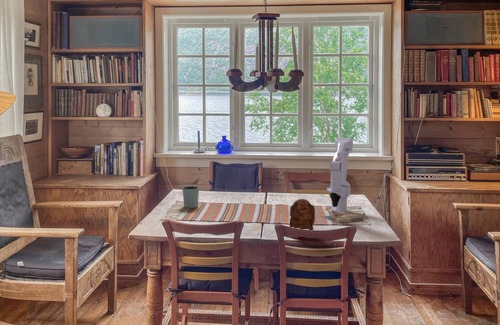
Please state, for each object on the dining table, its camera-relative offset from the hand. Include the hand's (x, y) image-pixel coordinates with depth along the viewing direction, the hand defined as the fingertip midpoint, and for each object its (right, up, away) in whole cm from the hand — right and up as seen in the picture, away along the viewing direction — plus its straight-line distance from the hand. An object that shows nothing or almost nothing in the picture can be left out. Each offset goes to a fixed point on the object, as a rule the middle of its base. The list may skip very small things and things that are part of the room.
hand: (334, 206), depth 251 cm
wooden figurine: (-22, -11, -30) cm, 39 cm away
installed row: (+9, -7, +4) cm, 12 cm away
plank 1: (0, -4, +4) cm, 6 cm away
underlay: (+5, -7, +2) cm, 9 cm away
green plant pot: (-83, -3, +27) cm, 88 cm away
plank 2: (+3, -7, -3) cm, 8 cm away
